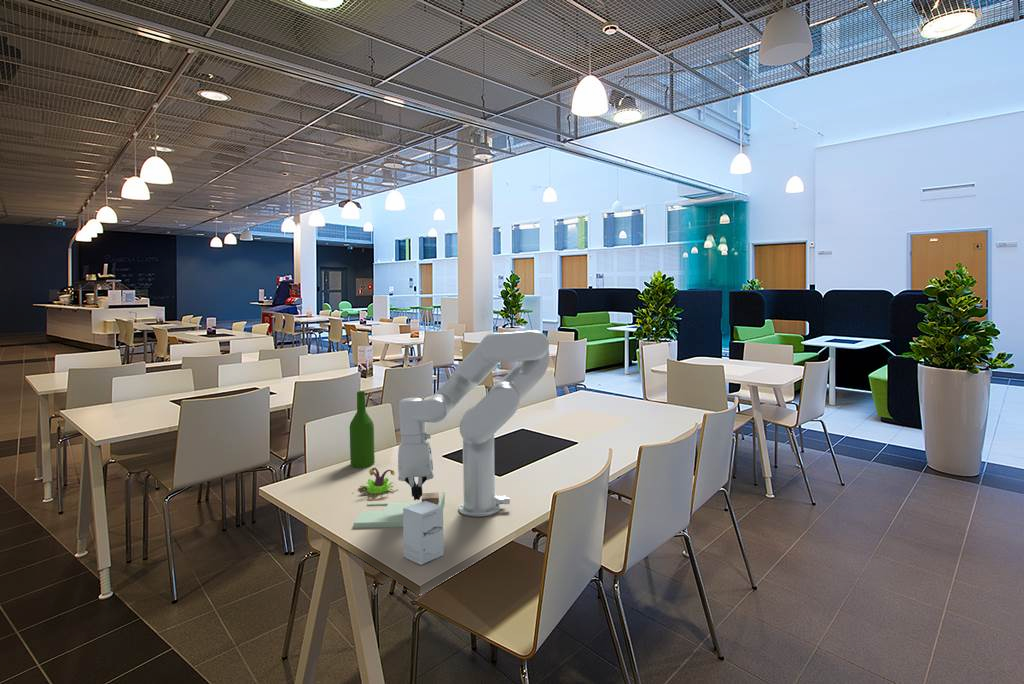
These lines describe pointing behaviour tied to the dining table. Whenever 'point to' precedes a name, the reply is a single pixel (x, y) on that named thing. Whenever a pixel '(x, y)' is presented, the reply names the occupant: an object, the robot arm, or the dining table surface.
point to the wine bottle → (361, 436)
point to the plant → (377, 485)
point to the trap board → (387, 515)
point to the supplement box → (423, 532)
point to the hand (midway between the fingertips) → (417, 498)
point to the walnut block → (431, 497)
